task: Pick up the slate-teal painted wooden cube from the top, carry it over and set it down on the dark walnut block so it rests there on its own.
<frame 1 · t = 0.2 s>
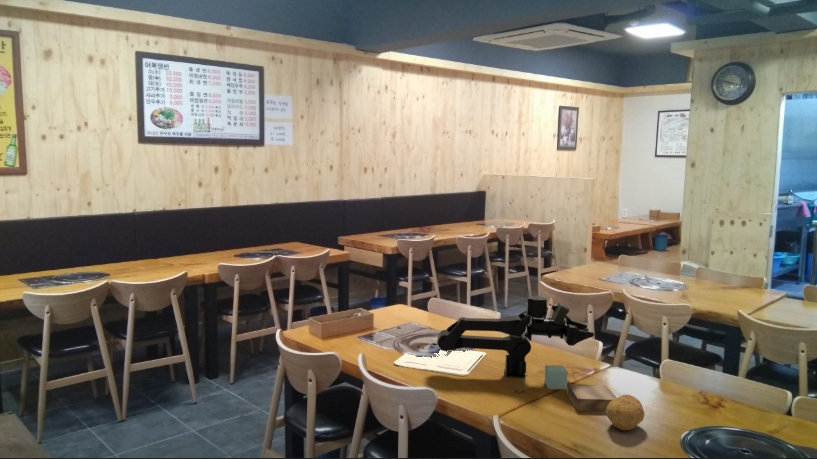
hand: (590, 330, 205), 16 cm above the table, tool horizontal, fingers open, 9 cm apart
tray: (441, 361, 222), on the table
walnut block: (591, 404, 183), on the table
potato: (623, 428, 166), on the table
teal cube: (555, 385, 197), on the table
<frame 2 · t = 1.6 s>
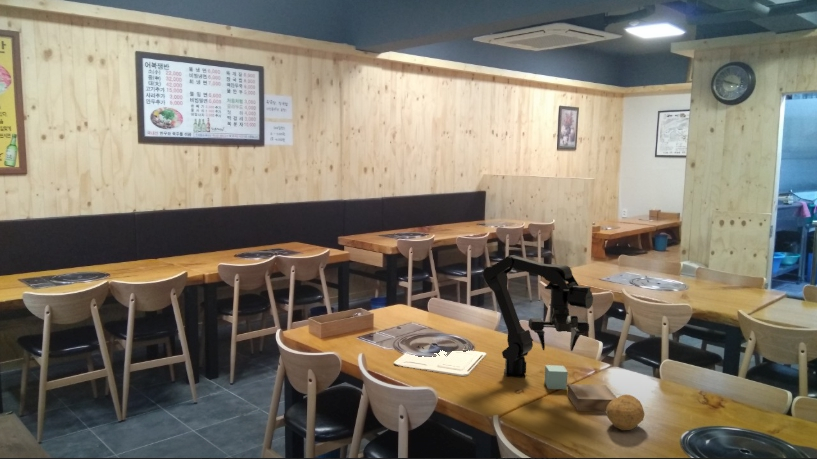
hand: (557, 350, 196), 12 cm above the table, tool pointing down, fingers open, 9 cm apart
nothing on the table moved.
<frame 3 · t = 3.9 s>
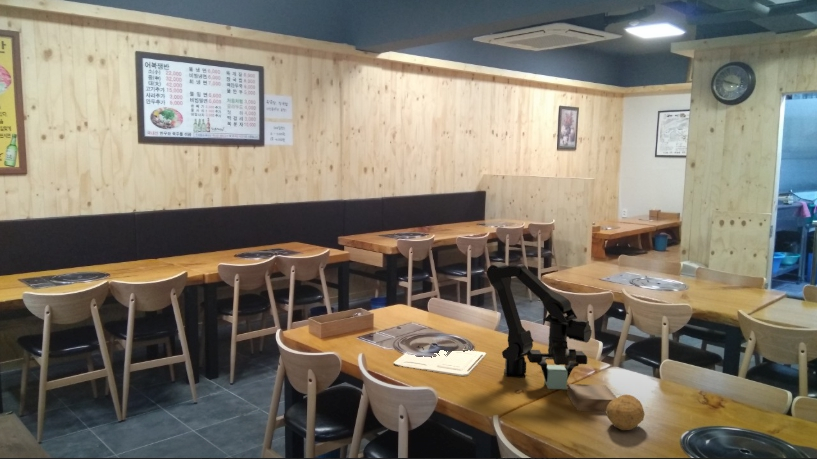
hand: (555, 381, 197), 1 cm above the table, tool pointing down, fingers closed on teal cube, 6 cm apart
teal cube: (555, 385, 197), on the table, touching gripper
everything else where it was.
when the fingers open (7 cm above the table, at t = 8.8 s): teal cube drops 2 cm, resting on walnut block.
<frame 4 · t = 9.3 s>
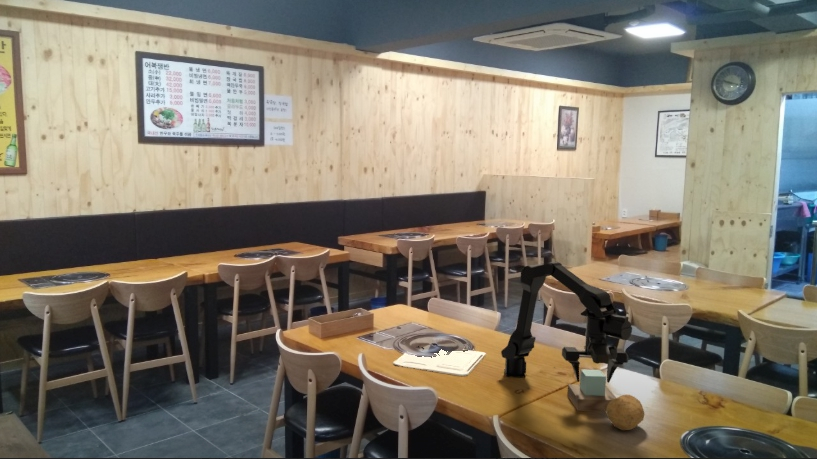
hand: (592, 381, 183), 7 cm above the table, tool pointing down, fingers open, 9 cm apart
walnut block: (591, 404, 183), on the table, touching teal cube
teal cube: (592, 391, 183), point 3 cm above the table, touching walnut block
everything else where it was.
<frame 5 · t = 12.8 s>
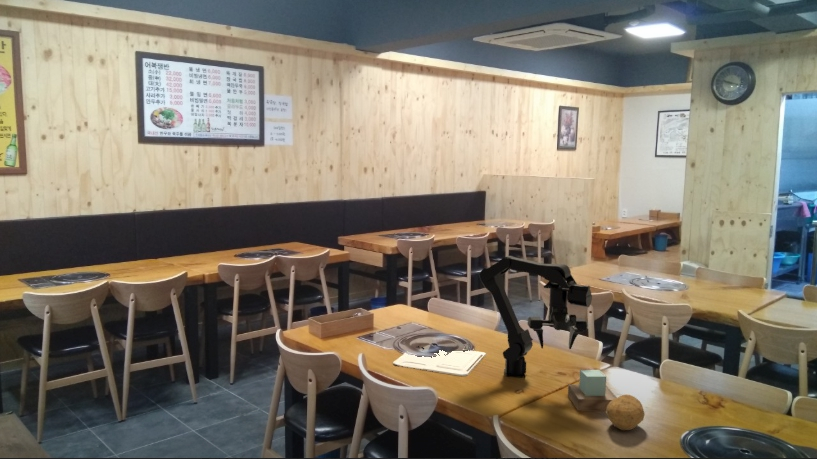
hand: (555, 348, 198), 12 cm above the table, tool pointing down, fingers open, 9 cm apart
nothing on the table moved.
at the end: teal cube 0.2 cm off-centre on the walnut block, point 4.0 cm above the walnut block's base; teal cube tilted 0°; the gripper is holding nothing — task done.
